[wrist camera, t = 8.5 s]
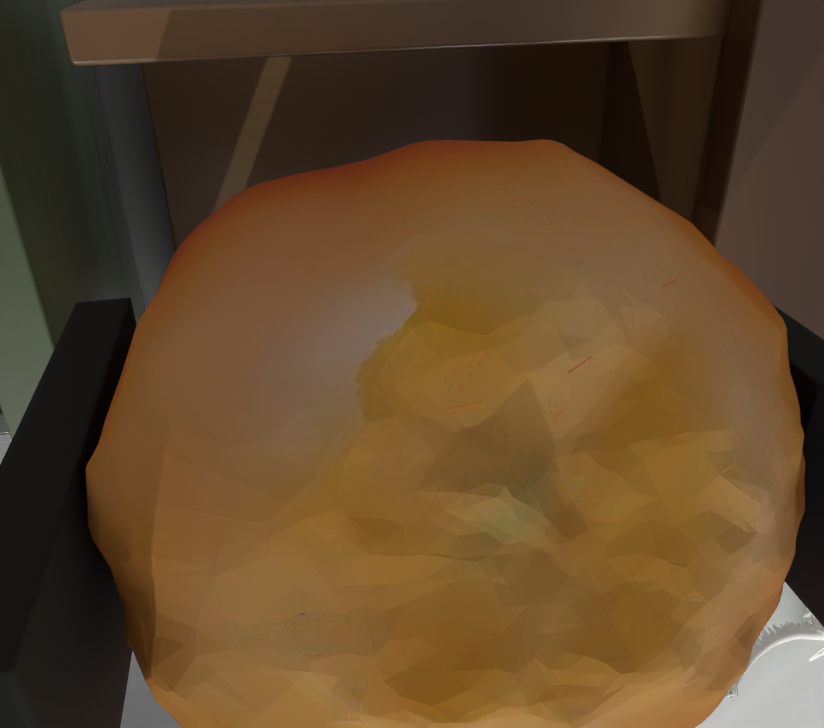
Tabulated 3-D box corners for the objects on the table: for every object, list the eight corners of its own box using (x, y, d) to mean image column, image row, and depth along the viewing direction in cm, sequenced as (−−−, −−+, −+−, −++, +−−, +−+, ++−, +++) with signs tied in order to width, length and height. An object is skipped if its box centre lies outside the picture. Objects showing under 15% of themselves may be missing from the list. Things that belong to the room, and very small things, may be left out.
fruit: (215, 697, 13) (84, 1138, 6) (156, 264, 14) (-56, 90, 6) (634, 614, 15) (1023, 882, 7) (577, 216, 15) (891, 14, 7)
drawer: (-32, 387, 22) (-168, 611, 15) (-190, -45, 17) (-539, -33, 9) (588, 319, 26) (732, 476, 18) (630, -62, 20) (865, -64, 12)
